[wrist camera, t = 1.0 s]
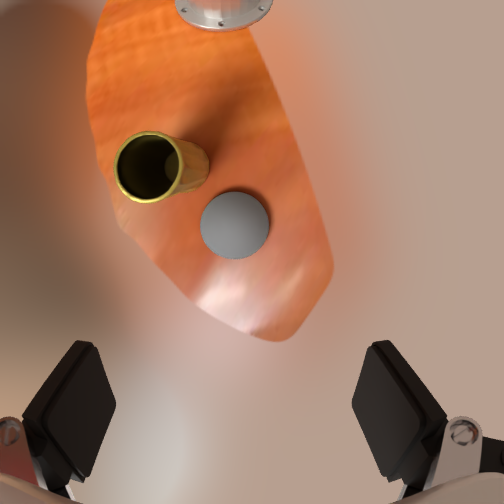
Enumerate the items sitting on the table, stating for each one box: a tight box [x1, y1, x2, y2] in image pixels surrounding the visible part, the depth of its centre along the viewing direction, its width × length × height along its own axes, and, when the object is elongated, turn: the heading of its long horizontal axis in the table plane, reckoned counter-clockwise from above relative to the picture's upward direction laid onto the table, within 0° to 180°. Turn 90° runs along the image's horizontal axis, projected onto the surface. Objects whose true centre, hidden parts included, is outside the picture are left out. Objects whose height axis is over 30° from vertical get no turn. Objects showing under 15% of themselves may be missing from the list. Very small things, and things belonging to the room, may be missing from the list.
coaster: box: [200, 192, 269, 259], centre depth 33 cm, size 8×8×1 cm
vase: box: [113, 131, 209, 204], centre depth 25 cm, size 6×6×14 cm
